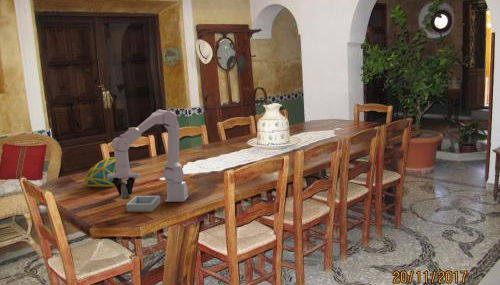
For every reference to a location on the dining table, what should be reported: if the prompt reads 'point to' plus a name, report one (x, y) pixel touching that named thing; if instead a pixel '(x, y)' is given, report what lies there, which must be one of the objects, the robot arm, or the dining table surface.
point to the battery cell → (124, 190)
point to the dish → (143, 204)
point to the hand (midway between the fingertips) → (125, 193)
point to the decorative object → (101, 173)
